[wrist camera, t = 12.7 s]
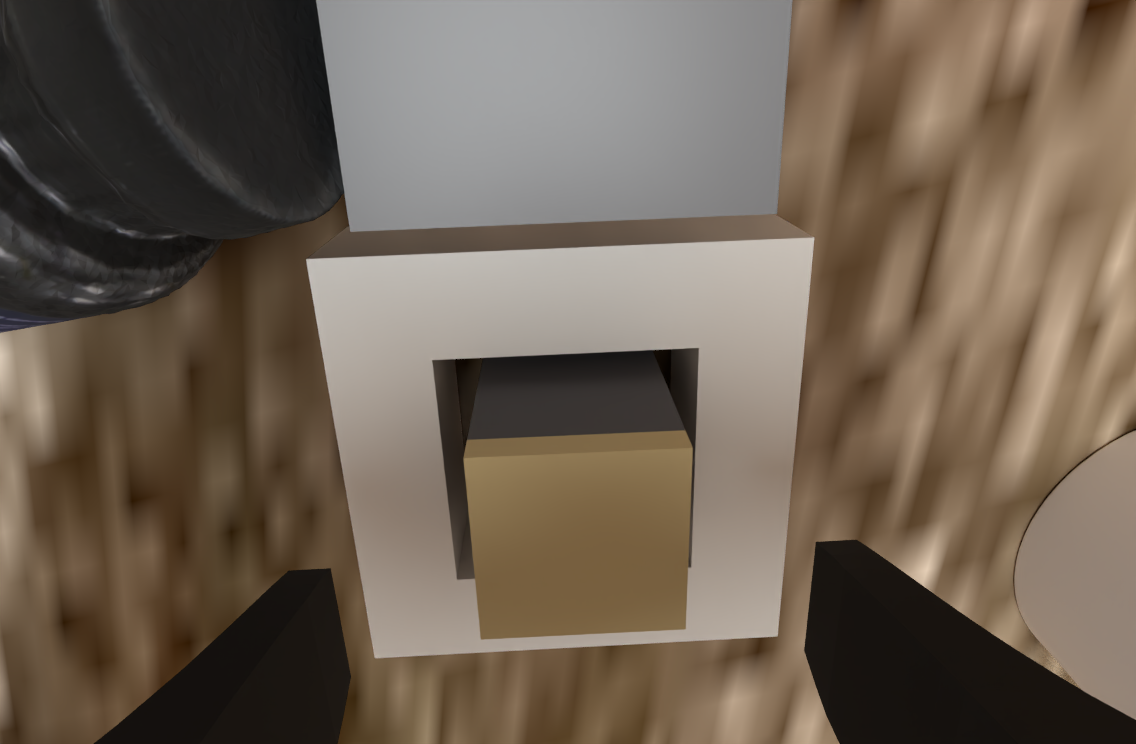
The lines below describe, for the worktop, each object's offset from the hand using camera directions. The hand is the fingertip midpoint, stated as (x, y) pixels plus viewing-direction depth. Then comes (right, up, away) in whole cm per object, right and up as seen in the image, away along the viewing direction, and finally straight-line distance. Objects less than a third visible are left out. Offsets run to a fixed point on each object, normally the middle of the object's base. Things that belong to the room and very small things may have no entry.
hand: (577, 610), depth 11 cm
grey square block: (0, +9, 0) cm, 9 cm away
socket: (0, +3, +7) cm, 7 cm away
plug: (0, +3, +6) cm, 7 cm away
